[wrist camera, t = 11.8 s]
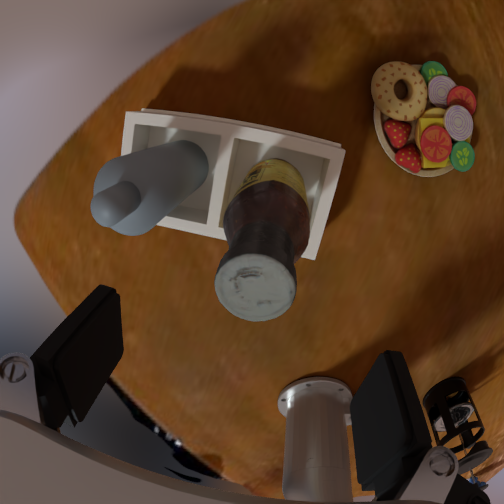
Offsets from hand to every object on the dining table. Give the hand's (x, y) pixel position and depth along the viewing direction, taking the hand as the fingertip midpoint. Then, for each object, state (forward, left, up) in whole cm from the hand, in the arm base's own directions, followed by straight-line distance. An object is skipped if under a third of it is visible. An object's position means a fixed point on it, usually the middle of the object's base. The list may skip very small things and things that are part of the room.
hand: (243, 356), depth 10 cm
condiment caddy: (+5, 0, -26) cm, 26 cm away
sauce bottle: (0, 0, -25) cm, 25 cm away
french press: (-41, +29, -26) cm, 56 cm away
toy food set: (-15, -12, -26) cm, 33 cm away
